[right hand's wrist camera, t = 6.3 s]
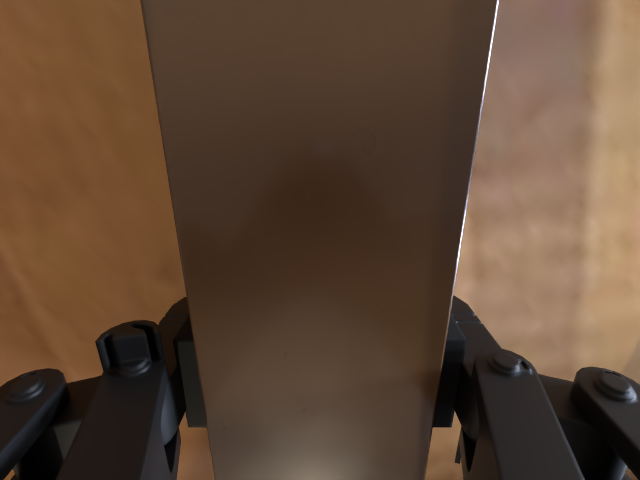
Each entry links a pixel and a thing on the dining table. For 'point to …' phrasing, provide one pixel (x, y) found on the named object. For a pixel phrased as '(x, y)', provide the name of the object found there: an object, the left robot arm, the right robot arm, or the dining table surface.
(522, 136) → the dining table surface
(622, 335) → the dining table surface
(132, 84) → the dining table surface
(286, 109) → the bar
